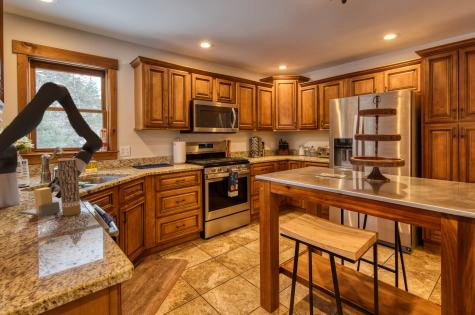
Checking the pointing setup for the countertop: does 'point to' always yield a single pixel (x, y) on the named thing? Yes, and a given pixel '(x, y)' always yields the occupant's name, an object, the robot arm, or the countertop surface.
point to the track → (44, 209)
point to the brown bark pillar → (69, 186)
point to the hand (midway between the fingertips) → (51, 197)
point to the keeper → (42, 197)
